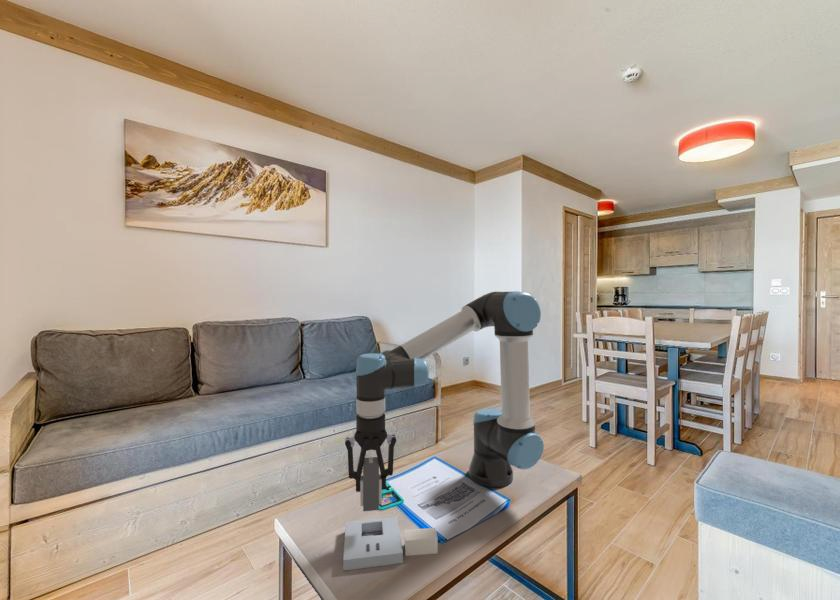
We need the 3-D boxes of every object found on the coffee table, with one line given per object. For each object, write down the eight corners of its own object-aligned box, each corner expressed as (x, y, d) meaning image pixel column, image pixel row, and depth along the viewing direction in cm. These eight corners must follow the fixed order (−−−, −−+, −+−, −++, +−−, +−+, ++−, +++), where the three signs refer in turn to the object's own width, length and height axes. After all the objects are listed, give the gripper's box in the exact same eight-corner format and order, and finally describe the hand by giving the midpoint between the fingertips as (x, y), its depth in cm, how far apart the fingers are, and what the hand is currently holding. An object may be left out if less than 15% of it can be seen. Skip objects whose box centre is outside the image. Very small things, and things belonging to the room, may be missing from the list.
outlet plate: (397, 525, 100) (397, 516, 100) (403, 562, 86) (402, 551, 86) (345, 531, 98) (345, 521, 98) (343, 570, 84) (343, 559, 84)
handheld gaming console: (385, 478, 124) (405, 500, 111) (385, 481, 124) (405, 503, 111) (361, 485, 120) (380, 509, 107) (362, 488, 120) (380, 512, 107)
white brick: (435, 542, 93) (435, 527, 93) (437, 554, 90) (437, 538, 89) (404, 545, 93) (404, 529, 93) (405, 556, 89) (405, 540, 89)
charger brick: (378, 501, 97) (378, 455, 97) (378, 509, 93) (378, 462, 93) (363, 502, 96) (363, 456, 96) (363, 511, 92) (363, 463, 92)
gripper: (401, 407, 99) (401, 491, 100) (338, 410, 97) (338, 496, 97) (404, 416, 92) (404, 507, 92) (336, 420, 89) (336, 513, 90)
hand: (370, 501), depth 95 cm, fingers closed on charger brick, 4 cm apart
